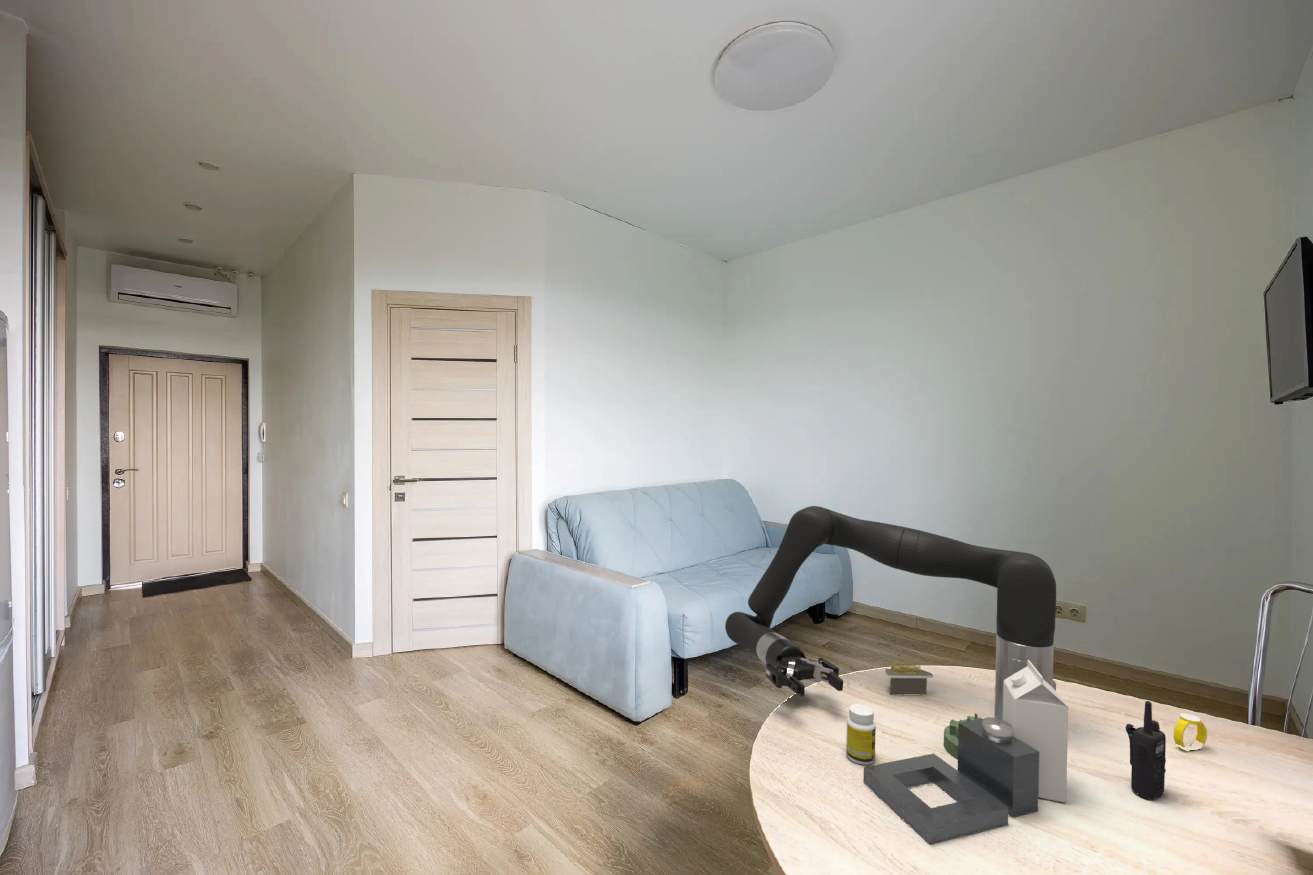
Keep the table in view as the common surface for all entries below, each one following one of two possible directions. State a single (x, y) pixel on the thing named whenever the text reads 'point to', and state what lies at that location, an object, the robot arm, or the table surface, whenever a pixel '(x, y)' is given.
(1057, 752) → the milk carton
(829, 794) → the table surface
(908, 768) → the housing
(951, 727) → the decorative artifact
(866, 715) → the supplement bottle
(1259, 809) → the table surface
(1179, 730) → the watch
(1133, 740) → the two-way radio
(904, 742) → the table surface
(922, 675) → the platform
